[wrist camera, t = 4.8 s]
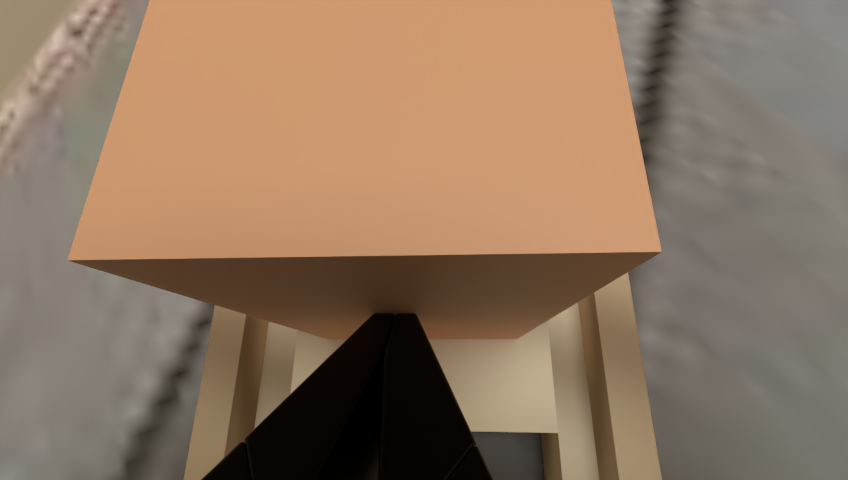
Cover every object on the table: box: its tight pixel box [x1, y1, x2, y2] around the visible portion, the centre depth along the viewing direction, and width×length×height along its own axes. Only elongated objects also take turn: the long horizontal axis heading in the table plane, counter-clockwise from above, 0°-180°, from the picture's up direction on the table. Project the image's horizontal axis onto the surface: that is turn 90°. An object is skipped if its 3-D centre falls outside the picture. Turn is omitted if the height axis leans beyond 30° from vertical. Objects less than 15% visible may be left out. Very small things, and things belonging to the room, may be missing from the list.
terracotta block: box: [68, 0, 662, 339], centre depth 9 cm, size 6×6×9 cm
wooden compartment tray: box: [183, 272, 662, 480], centre depth 15 cm, size 30×12×4 cm, turn 0°
